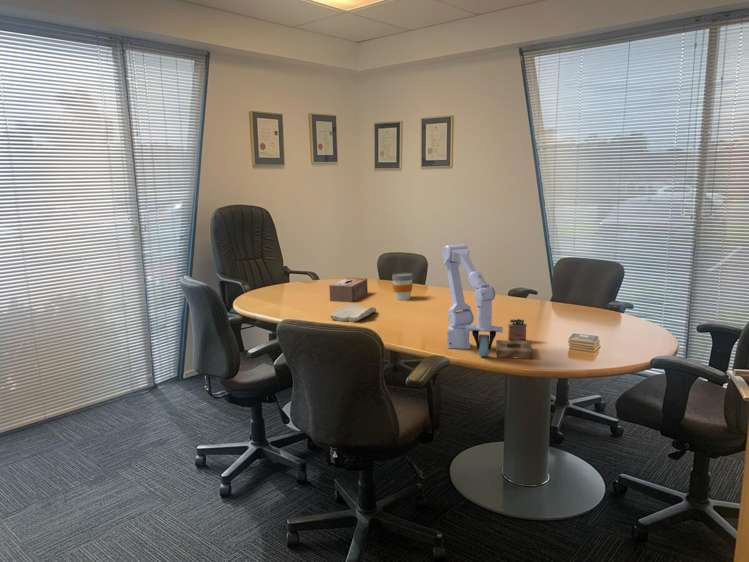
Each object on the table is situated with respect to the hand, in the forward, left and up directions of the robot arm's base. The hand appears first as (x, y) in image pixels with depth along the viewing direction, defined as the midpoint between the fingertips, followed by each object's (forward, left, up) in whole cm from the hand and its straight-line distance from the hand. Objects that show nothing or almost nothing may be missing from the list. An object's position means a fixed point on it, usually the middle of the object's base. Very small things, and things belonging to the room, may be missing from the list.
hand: (483, 348), depth 219 cm
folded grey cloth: (-68, +58, -4) cm, 89 cm away
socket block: (+12, +7, -3) cm, 14 cm away
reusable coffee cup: (-50, +103, -4) cm, 114 cm away
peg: (0, 0, -3) cm, 2 cm away
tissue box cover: (-84, +104, -4) cm, 134 cm away
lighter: (+14, +24, -4) cm, 28 cm away
